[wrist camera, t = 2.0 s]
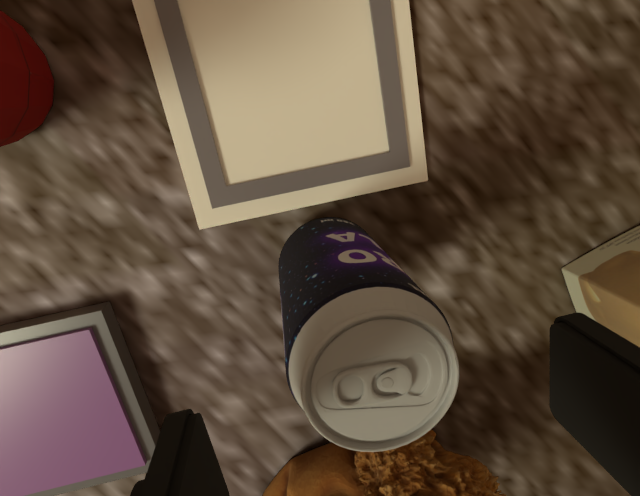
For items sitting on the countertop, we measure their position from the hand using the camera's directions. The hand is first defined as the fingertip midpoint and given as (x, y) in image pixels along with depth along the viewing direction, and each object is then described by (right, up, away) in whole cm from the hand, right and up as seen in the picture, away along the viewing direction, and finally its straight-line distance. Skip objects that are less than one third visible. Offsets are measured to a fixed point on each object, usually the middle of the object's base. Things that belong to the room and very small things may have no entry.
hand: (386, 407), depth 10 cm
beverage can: (-1, +3, +13) cm, 14 cm away
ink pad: (-18, -5, +13) cm, 23 cm away
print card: (-3, +13, +10) cm, 16 cm away
